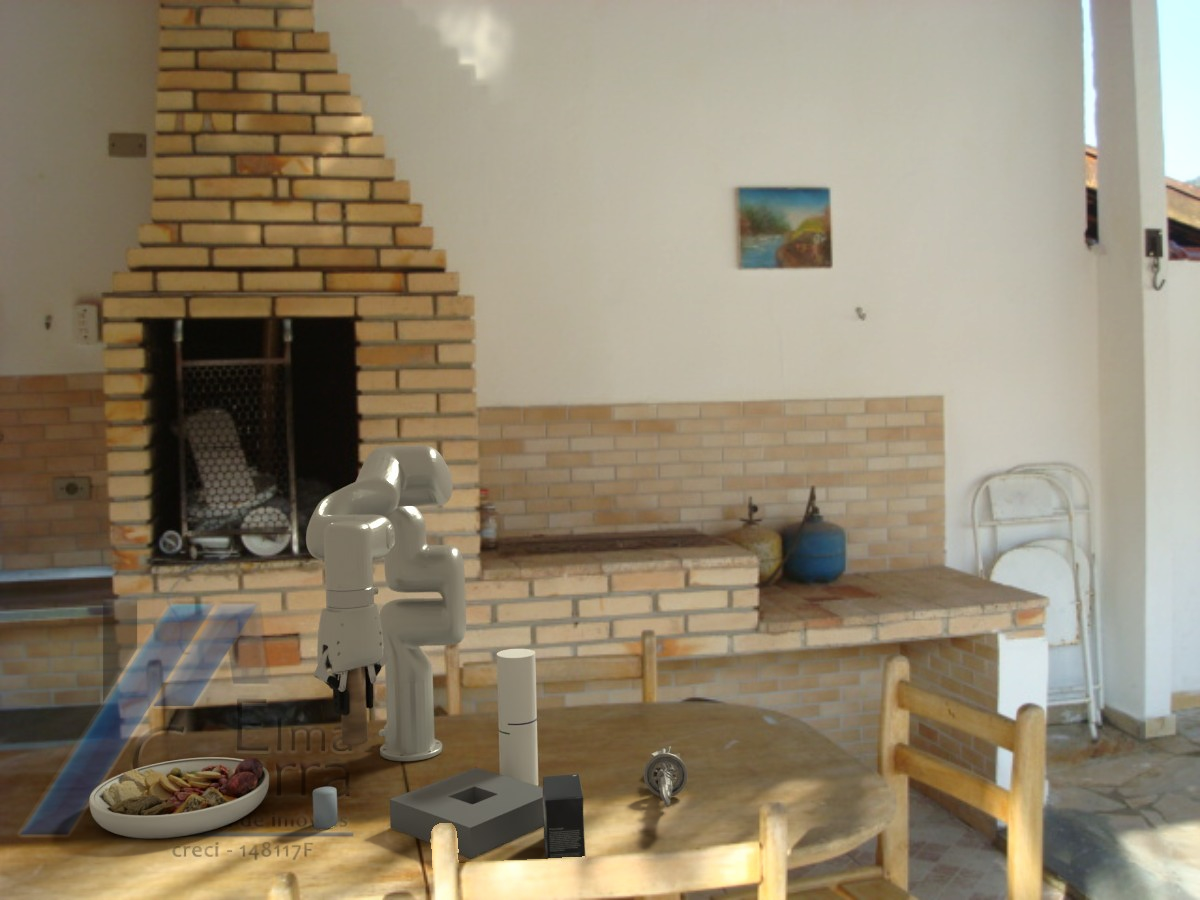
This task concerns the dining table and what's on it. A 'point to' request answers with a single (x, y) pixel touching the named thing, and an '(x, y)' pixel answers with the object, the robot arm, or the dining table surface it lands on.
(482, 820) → the collar block
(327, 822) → the short pin
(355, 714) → the long pin
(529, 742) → the cylindrical container
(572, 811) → the small box
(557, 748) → the dining table surface
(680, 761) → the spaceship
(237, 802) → the bowl
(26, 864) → the dining table surface
